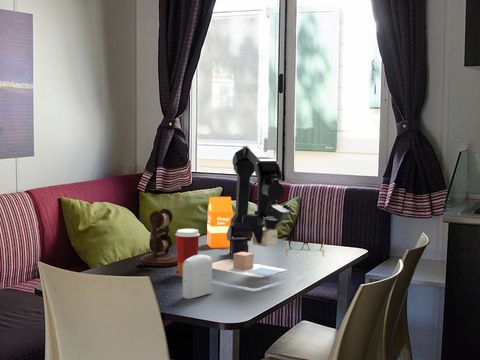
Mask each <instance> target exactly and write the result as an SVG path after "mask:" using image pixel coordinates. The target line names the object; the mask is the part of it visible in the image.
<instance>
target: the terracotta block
mask: <svg viewBox="0 0 480 360" xmlns="http://www.w3.org/2000/svg"><path fill="white" fill-rule="evenodd" d="M232 256H233V257H232V258H233V259H232V260H233V268H236V269H241V270H247V269H251V268H253V264H255V263H254V256H255V254H254V252H253V253H251V252H248V253H247V252H239V253H235V254H233V255H232Z"/></svg>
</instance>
